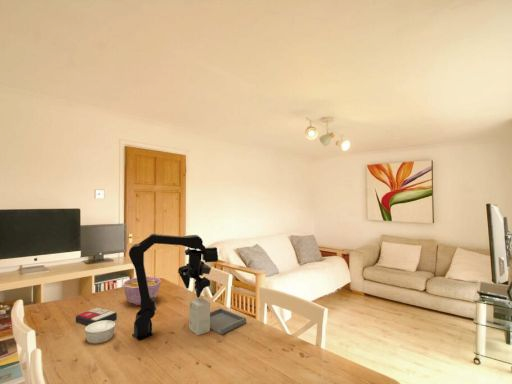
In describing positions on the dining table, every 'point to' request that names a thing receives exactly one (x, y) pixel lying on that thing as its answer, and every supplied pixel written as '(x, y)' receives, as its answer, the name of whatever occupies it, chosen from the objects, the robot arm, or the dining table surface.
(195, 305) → the small box
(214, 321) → the tray
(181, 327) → the dining table surface
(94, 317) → the red and grey box
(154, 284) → the bowl of food
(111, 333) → the ramekin
